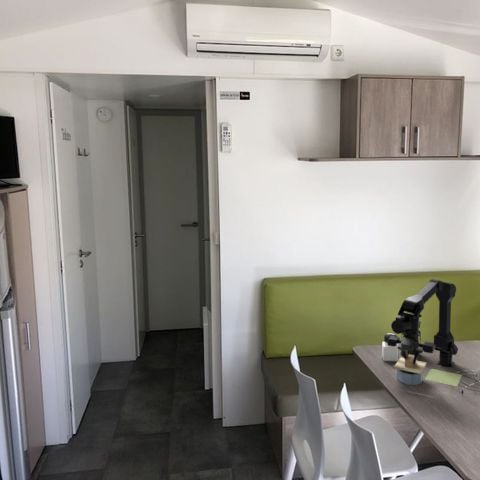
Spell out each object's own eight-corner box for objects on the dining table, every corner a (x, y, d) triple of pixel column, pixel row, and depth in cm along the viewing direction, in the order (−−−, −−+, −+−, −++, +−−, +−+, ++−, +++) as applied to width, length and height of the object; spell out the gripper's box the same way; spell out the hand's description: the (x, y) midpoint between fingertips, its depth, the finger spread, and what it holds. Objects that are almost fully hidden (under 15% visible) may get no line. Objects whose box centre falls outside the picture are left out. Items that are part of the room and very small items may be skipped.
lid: (400, 359, 212) (400, 351, 212) (426, 364, 206) (426, 355, 206) (393, 368, 203) (394, 359, 203) (420, 373, 197) (420, 364, 197)
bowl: (401, 373, 213) (401, 363, 212) (424, 378, 207) (424, 367, 206) (394, 382, 204) (395, 371, 204) (419, 387, 199) (419, 376, 198)
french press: (422, 359, 228) (423, 313, 224) (401, 358, 230) (403, 312, 226) (418, 350, 239) (420, 306, 236) (398, 349, 241) (400, 305, 238)
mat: (431, 369, 216) (431, 368, 216) (462, 375, 209) (462, 374, 209) (424, 380, 206) (424, 379, 206) (457, 387, 199) (457, 386, 199)
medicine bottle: (398, 361, 226) (399, 337, 224) (383, 360, 227) (383, 337, 225) (397, 356, 233) (397, 332, 231) (381, 355, 234) (382, 331, 232)
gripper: (384, 330, 201) (383, 365, 203) (430, 338, 191) (429, 374, 193) (391, 323, 210) (390, 356, 212) (436, 330, 200) (434, 365, 202)
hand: (410, 363), depth 205 cm, fingers closed on lid, 3 cm apart
